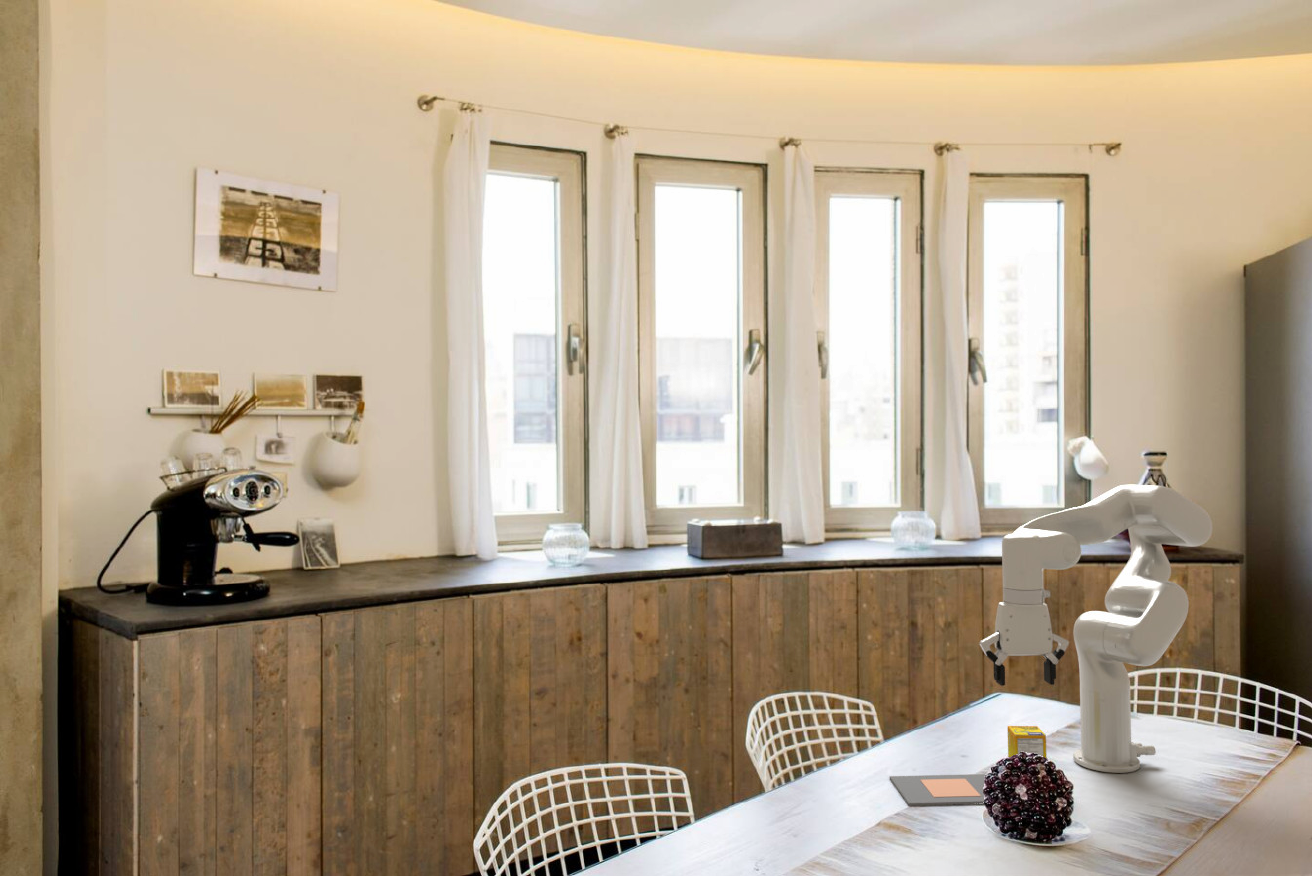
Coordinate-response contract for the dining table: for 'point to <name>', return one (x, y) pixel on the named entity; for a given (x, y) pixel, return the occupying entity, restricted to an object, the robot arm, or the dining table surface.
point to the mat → (940, 789)
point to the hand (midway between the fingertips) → (1024, 683)
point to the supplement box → (1026, 740)
